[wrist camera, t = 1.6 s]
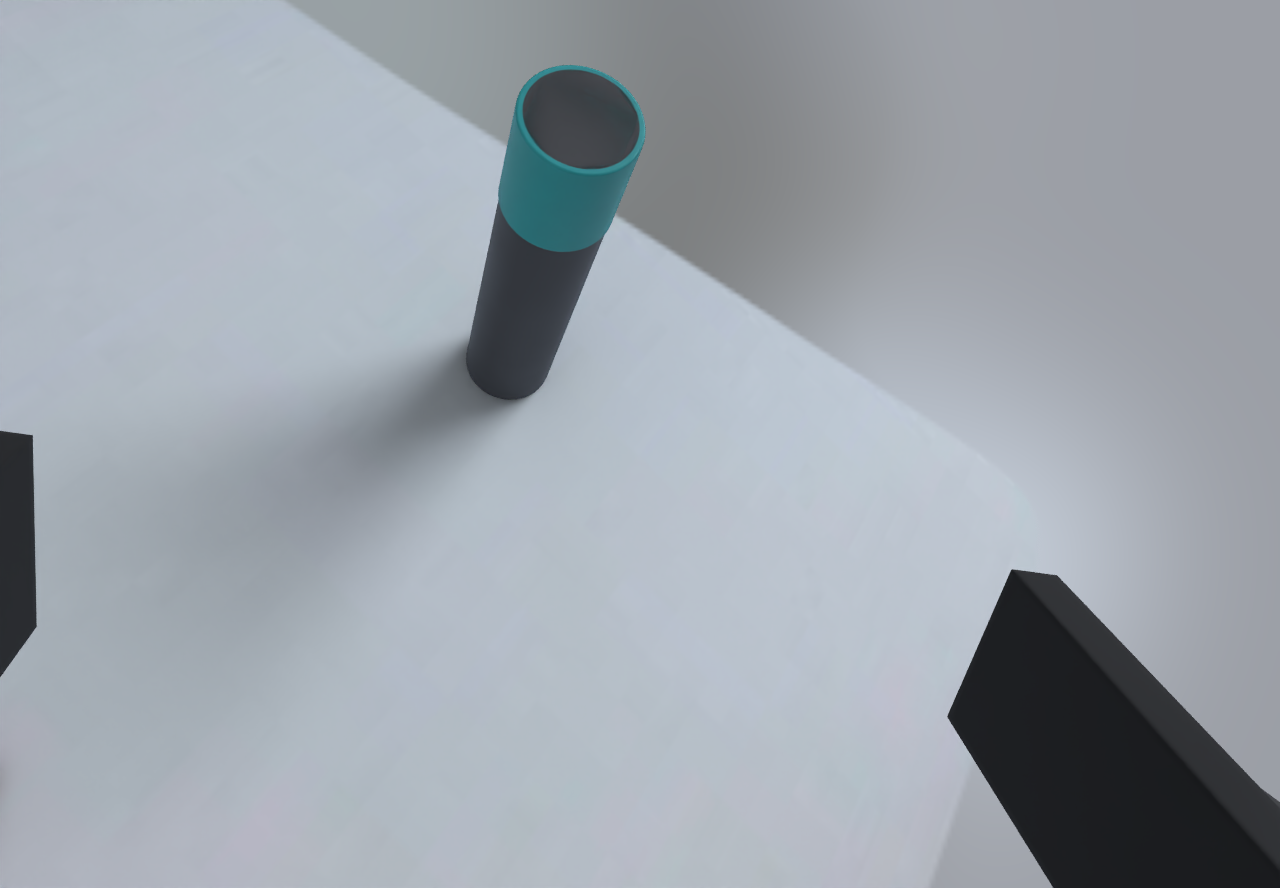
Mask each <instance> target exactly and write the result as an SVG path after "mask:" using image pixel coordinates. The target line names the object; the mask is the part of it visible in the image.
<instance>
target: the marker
mask: <svg viewBox="0 0 1280 888" xmlns="http://www.w3.org/2000/svg"><path fill="white" fill-rule="evenodd" d="M644 140H645V122H644V117H643V114H642V111H641V109H640V107H639V105H638V103H637V102H636V100H635V98H634V97H633V96H632V94H631V93H630V92H629V91H628V90H627V89H626V88H625V87H624V86H623V85H621V84H620V83H619V82H618V81H617V80H615V79H614V78H612V77H610V76H609V75H606V74H605V73H603V72H600V71H598V70H595V69H592V68H588V67H583V66H575V65H562V66H556V67H552V68H548V69H546V70H543V71H541V72H539V73H538V74H536V75H535V76H533V77H532V78H531V79H530V80H529V81H528V82H527V83H526V84H525V85H524V86H523V88H522V89H521V91H520V93H519V95H518V98H517V101H516V106H515V111H514V116H513V121H512V126H511V130H510V136H509V140H508V145H507V150H506V155H505V160H504V165H503V170H502V174H501V179H500V184H499V191H498V197H499V200H498V205H497V210H496V215H495V219H494V224H493V229H492V234H491V239H490V244H489V248H488V253H487V258H486V263H485V268H484V272H483V277H482V282H481V287H480V292H479V296H478V301H477V306H476V311H475V316H474V321H473V325H472V330H471V335H470V340H469V345H468V349H467V355H466V363H467V368H468V371H469V374H470V376H471V377H472V379H473V380H474V382H475V383H476V384H477V385H478V386H479V387H480V388H481V389H482V390H483V391H485V392H487V393H488V394H490V395H492V396H495V397H498V398H502V399H518V398H522V397H526V396H528V395H530V394H532V393H533V392H535V391H536V390H537V389H538V388H539V387H540V386H541V385H542V384H543V382H544V381H545V379H546V377H547V374H548V372H549V370H550V367H551V365H552V362H553V360H554V357H555V355H556V352H557V350H558V347H559V345H560V342H561V340H562V338H563V335H564V333H565V330H566V328H567V325H568V323H569V320H570V318H571V315H572V313H573V310H574V308H575V306H576V303H577V301H578V298H579V296H580V293H581V291H582V288H583V286H584V283H585V281H586V278H587V276H588V274H589V271H590V269H591V266H592V264H593V261H594V259H595V256H596V254H597V251H598V249H599V246H600V244H601V242H602V239H603V237H604V235H605V233H606V232H607V230H608V229H609V227H610V225H611V223H612V220H613V218H614V215H615V213H616V210H617V208H618V205H619V203H620V201H621V198H622V196H623V193H624V191H625V189H626V186H627V183H628V181H629V178H630V176H631V174H632V172H633V169H634V167H635V164H636V162H637V159H638V157H639V154H640V152H641V150H642V146H643V144H644Z"/></svg>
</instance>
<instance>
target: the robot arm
mask: <svg viewBox="0 0 1280 888" xmlns="http://www.w3.org/2000/svg"><path fill="white" fill-rule="evenodd" d="M36 627H37V625H36V576H35V527H34V478H33V435H26V434H19V433H11V432H4V431H0V677H1V675H2V674H3V673H4V671H5V670H6V668H7V667H8V666H9V664H10V663H11V661H12V660H13V659H14V657H15V656H16V655H17V653H18V652H19V650H20V649H21V648H22V646H23V645H24V643H25V642H26V641H27V639H28V638H29V636H30V635H31V634H32V632H33V631H34V630H35V628H36ZM947 717H948V719H949V720H950V722H951V724H952V725H953V727H954V728H955V730H956V732H957V733H958V735H959V736H960V738H961V740H962V741H963V743H964V745H965V746H966V748H967V749H968V751H969V753H970V754H971V756H972V757H973V759H974V761H975V762H976V764H977V765H978V767H979V769H980V770H981V772H982V774H983V775H984V777H985V778H986V780H987V782H988V783H989V785H990V786H991V788H992V790H993V791H994V793H995V794H996V796H997V798H998V799H999V801H1000V803H1001V804H1002V806H1003V807H1004V809H1005V811H1006V812H1007V814H1008V815H1009V817H1010V819H1011V820H1012V822H1013V823H1014V825H1015V827H1016V828H1017V830H1018V832H1019V833H1020V835H1021V836H1022V838H1023V840H1024V841H1025V843H1026V845H1027V846H1028V848H1029V849H1030V851H1031V852H1032V854H1033V856H1034V857H1035V859H1036V861H1037V862H1038V864H1039V865H1040V867H1041V869H1042V870H1043V872H1044V874H1045V875H1046V876H1047V878H1048V880H1049V881H1050V883H1051V885H1052V886H1053V888H1280V802H1279V801H1277V800H1276V799H1275V798H1273V797H1272V796H1271V795H1269V794H1268V793H1266V792H1265V791H1264V790H1262V789H1261V788H1260V787H1259V786H1258V785H1257V784H1256V783H1255V782H1254V781H1253V780H1252V779H1251V778H1250V777H1249V776H1248V774H1247V773H1246V772H1244V770H1243V769H1242V768H1241V767H1240V766H1239V765H1238V764H1237V763H1236V762H1235V761H1234V760H1233V759H1232V758H1231V757H1230V756H1229V755H1228V754H1227V753H1226V752H1225V750H1224V749H1223V748H1222V747H1221V746H1220V745H1219V744H1218V743H1217V742H1216V741H1215V740H1214V739H1213V738H1212V737H1211V736H1210V735H1209V734H1208V733H1207V732H1206V731H1205V730H1204V729H1203V727H1202V726H1201V725H1200V724H1199V723H1198V722H1197V721H1196V720H1195V719H1194V718H1193V717H1192V716H1191V715H1190V714H1189V713H1188V712H1187V711H1186V710H1185V709H1184V708H1183V707H1182V705H1180V703H1179V702H1178V701H1177V700H1176V699H1175V698H1174V697H1173V696H1172V695H1171V694H1170V693H1169V692H1168V691H1167V690H1166V689H1165V688H1164V687H1163V686H1162V685H1161V684H1160V683H1159V681H1158V680H1157V679H1156V678H1155V677H1154V676H1153V675H1152V674H1151V673H1150V672H1149V671H1148V670H1147V669H1146V668H1145V667H1144V666H1143V665H1142V664H1141V663H1140V662H1139V661H1138V660H1137V658H1136V657H1135V656H1134V655H1133V654H1132V653H1131V652H1130V651H1129V650H1128V649H1127V648H1126V647H1125V646H1124V645H1123V644H1122V643H1121V642H1120V641H1119V640H1118V639H1117V638H1116V637H1115V636H1114V634H1113V633H1112V632H1111V631H1110V630H1109V629H1108V628H1107V627H1106V626H1105V625H1104V624H1103V623H1102V622H1101V621H1100V620H1099V619H1098V618H1097V617H1096V616H1095V615H1094V614H1093V612H1092V611H1091V610H1090V609H1089V608H1088V607H1087V606H1086V605H1085V604H1084V603H1083V602H1082V601H1081V600H1080V599H1079V598H1078V597H1077V596H1076V595H1075V594H1074V593H1073V592H1072V591H1071V589H1070V588H1069V587H1068V586H1067V585H1066V584H1065V583H1063V581H1061V579H1060V578H1059V577H1058V576H1057V575H1049V574H1042V573H1035V572H1028V571H1020V570H1013V569H1012V570H1011V572H1010V574H1009V576H1008V579H1007V581H1006V583H1005V586H1004V588H1003V590H1002V593H1001V595H1000V597H999V599H998V602H997V604H996V606H995V609H994V611H993V613H992V615H991V618H990V620H989V622H988V625H987V627H986V629H985V631H984V634H983V636H982V638H981V641H980V643H979V645H978V647H977V650H976V652H975V654H974V657H973V659H972V661H971V663H970V666H969V668H968V670H967V673H966V675H965V677H964V679H963V682H962V684H961V686H960V689H959V691H958V693H957V695H956V698H955V700H954V702H953V705H952V707H951V709H950V711H949V714H948V716H947Z"/></svg>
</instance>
